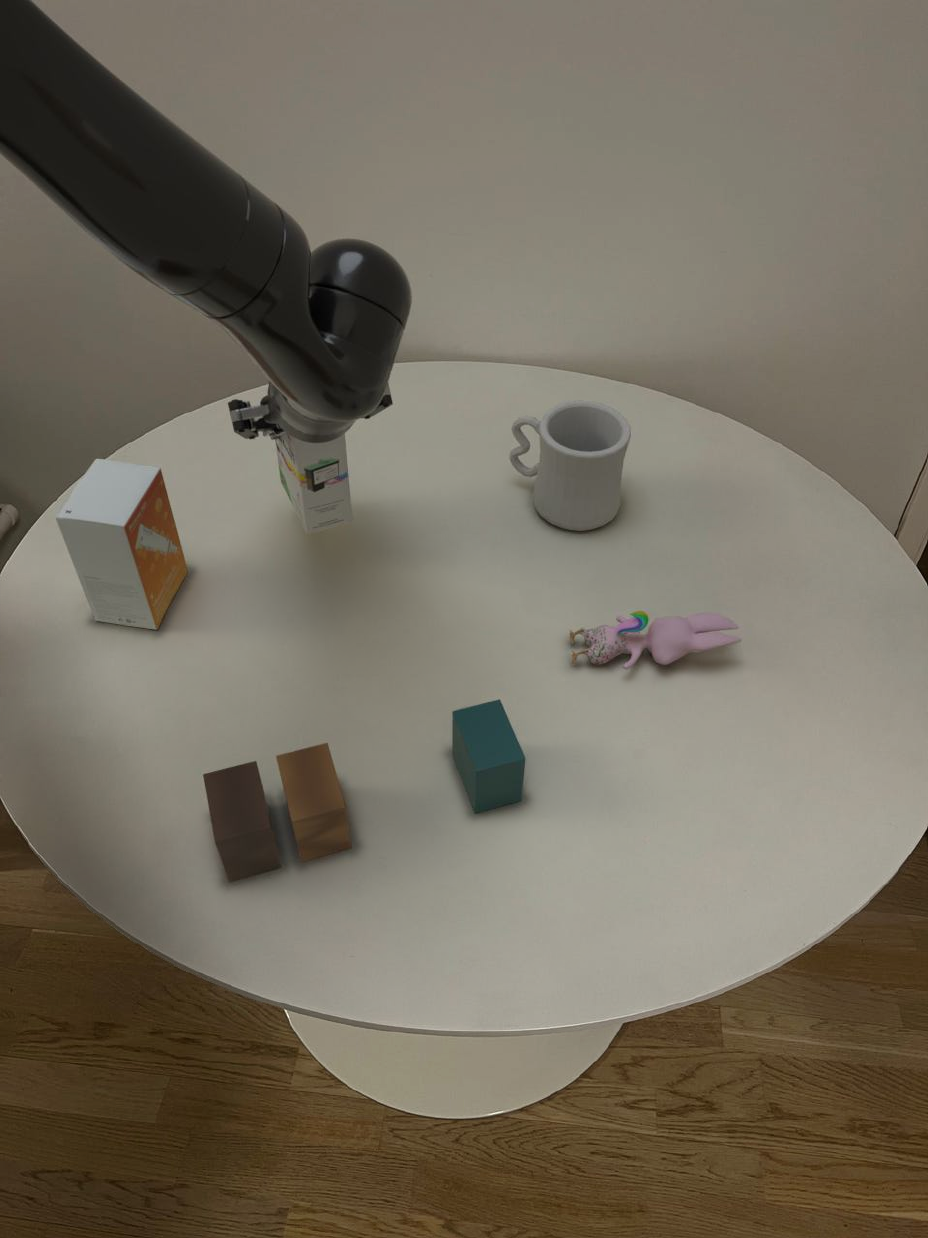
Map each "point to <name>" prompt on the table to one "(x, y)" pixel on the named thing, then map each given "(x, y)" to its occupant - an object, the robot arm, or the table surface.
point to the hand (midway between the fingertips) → (303, 422)
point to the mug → (576, 463)
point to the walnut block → (241, 821)
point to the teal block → (487, 755)
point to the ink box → (316, 481)
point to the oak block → (314, 801)
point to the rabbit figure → (656, 637)
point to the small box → (124, 542)
